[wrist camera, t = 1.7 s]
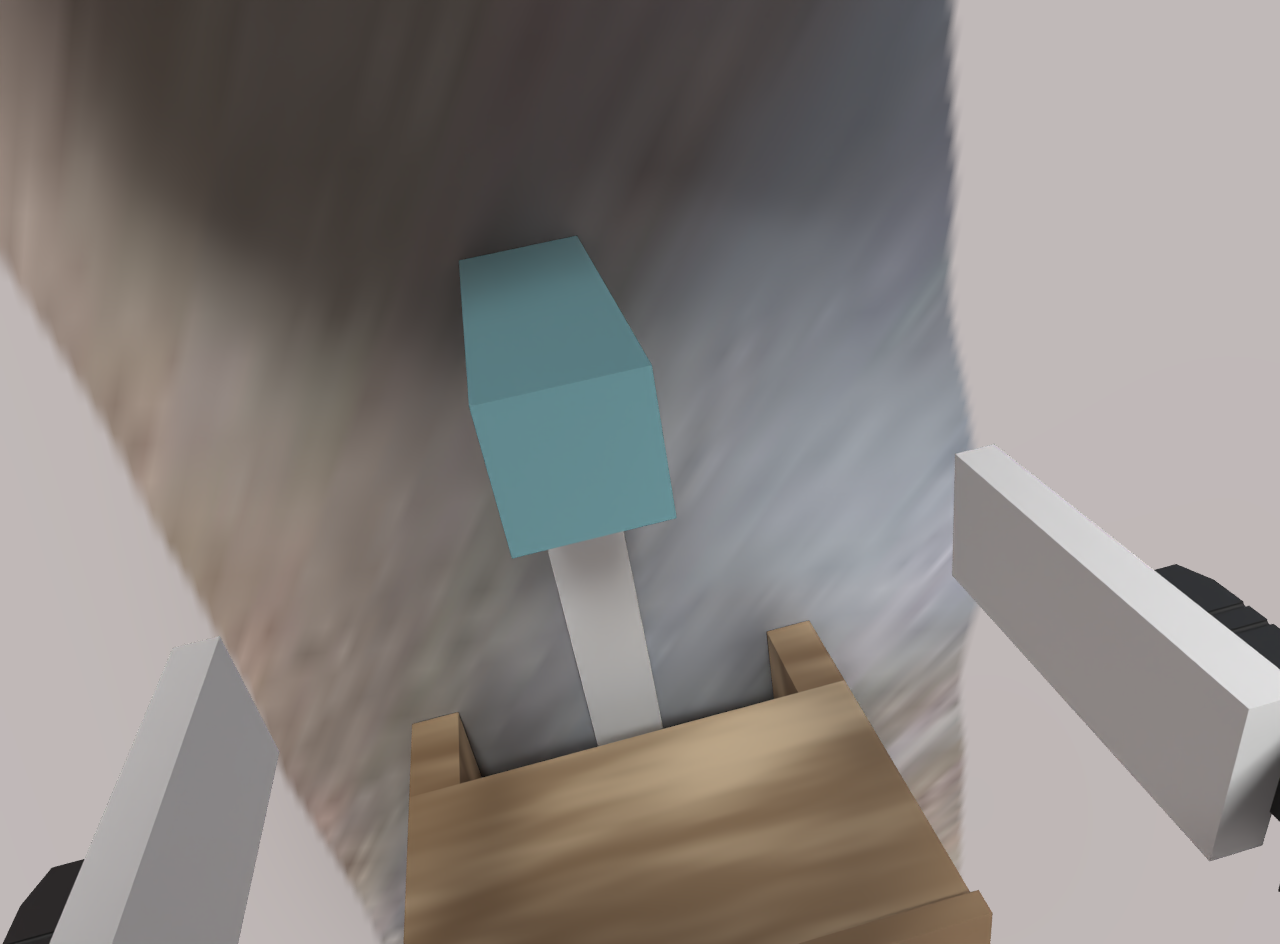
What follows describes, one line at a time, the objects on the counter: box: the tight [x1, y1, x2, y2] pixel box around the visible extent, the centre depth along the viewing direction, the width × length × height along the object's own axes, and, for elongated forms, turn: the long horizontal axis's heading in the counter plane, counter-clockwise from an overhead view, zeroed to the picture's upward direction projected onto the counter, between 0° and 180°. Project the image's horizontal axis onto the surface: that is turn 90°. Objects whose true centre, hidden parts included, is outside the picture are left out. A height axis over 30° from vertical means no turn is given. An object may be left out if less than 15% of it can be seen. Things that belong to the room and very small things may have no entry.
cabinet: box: [404, 621, 992, 944], centre depth 36 cm, size 14×18×15 cm
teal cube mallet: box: [459, 236, 676, 746], centre depth 30 cm, size 26×4×12 cm, turn 9°
